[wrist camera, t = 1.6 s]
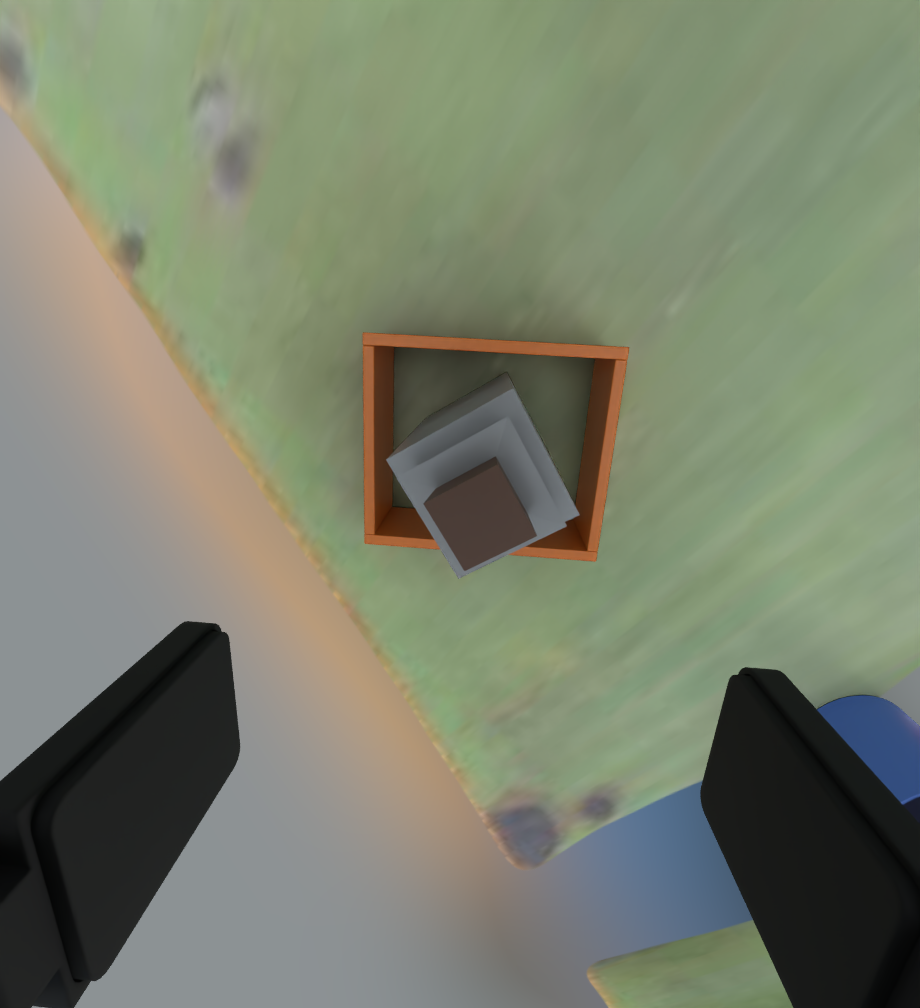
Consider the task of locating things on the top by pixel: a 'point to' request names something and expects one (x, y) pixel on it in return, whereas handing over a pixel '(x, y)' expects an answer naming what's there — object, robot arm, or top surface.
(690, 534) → the top surface
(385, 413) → the box
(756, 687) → the robot arm
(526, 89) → the top surface
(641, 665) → the top surface
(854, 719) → the water bottle
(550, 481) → the perfume bottle
